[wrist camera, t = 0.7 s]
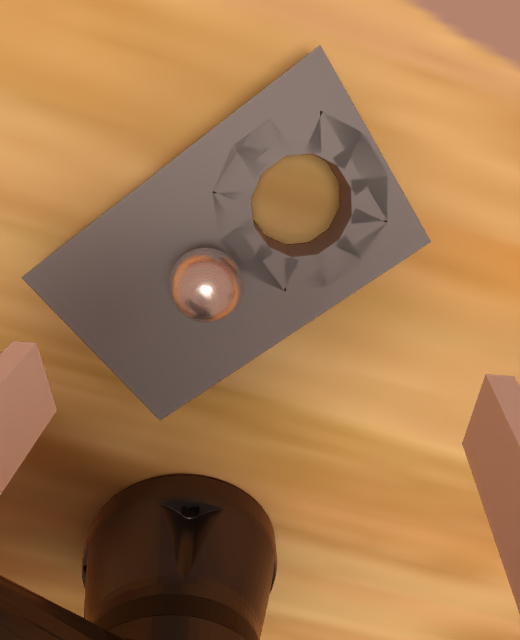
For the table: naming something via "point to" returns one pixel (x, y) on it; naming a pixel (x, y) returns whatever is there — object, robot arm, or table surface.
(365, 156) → the plate
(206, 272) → the ball
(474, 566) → the table surface
